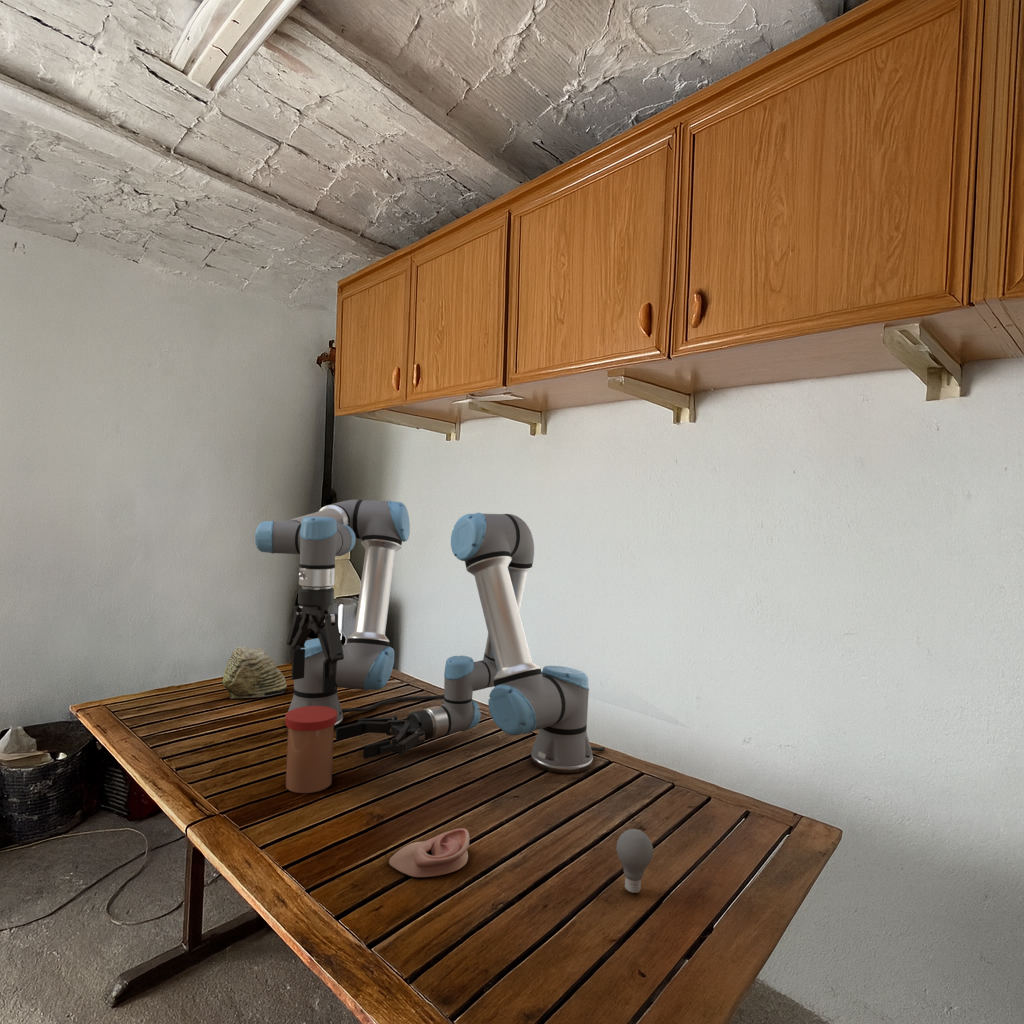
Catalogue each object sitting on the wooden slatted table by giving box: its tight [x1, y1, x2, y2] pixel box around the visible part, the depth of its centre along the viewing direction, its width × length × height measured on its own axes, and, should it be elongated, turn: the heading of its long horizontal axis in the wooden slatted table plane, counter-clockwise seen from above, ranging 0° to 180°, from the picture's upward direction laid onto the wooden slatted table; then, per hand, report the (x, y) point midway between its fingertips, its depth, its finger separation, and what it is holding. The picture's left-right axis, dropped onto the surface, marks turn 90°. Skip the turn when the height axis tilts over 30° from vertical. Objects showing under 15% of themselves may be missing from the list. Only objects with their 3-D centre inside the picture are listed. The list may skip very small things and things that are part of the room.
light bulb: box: [615, 828, 654, 894], centre depth 106 cm, size 6×6×10 cm
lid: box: [284, 706, 337, 731], centre depth 140 cm, size 11×11×2 cm
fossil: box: [222, 646, 288, 699], centre depth 198 cm, size 9×18×15 cm, turn 132°
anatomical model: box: [388, 827, 470, 878], centre depth 112 cm, size 13×4×12 cm
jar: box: [285, 725, 335, 794], centre depth 140 cm, size 10×10×15 cm
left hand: (312, 684), depth 139 cm, fingers open, 12 cm apart
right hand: (349, 743), depth 147 cm, fingers open, 13 cm apart
